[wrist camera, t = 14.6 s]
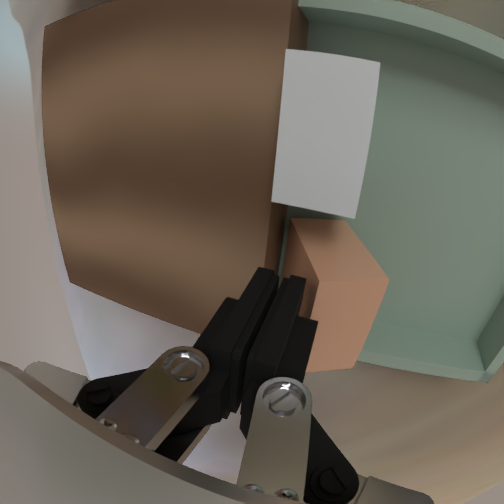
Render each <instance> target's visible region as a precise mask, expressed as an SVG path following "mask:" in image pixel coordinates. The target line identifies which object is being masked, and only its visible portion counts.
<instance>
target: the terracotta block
mask: <svg viewBox="0 0 504 504" xmlns="http://www.w3.org/2000/svg"><path fill="white" fill-rule="evenodd" d="M291 275H295V276H299V277H303V278H307V280H306V285H305V289H304V294H303V298H302V302H301V307H300V311H299V315H298V316H300V317H304V318H308V319H312V320H316V321H318V326H317V330H316V334H315V338H314V342H313V346H312V350H311V353H310V357H309V361H308V365H307V368H306V372H305V373H308V372H319V371H329V370H339V369H347V368H353V367H354V365H355V363H356V360H357V358H358V356H359V354H360V352H361V350H362V347H363V345H364V343H365V341H366V338H367V336H368V334H369V331H370V329H371V326H372V324H373V322H374V319H375V317H376V314H377V312H378V309H379V307H380V304H381V302H382V299H383V296H384V294H385V291H386V288H387V286H388V283H389V278H388V277H387V276H386V274H385V273H384V271H383V270H382V269H381V267H380V266H379V265H378V263H377V262H376V260H375V259H374V258H373V256H372V255H371V254H370V252H369V251H368V250H367V248H366V247H365V246H364V244H363V243H362V242H361V241H360V239H359V238H358V237H357V235H356V234H355V233H354V231H353V230H352V229H351V228H350V226H349V225H348V224H347V223H346V221H345V220H330V219H309V218H290V222H289V229H288V236H287V243H286V250H285V257H284V263H283V270H282V277H281V282H282V280H283V278H284V277H286V278H290V276H291ZM280 285H281V283H280Z"/></svg>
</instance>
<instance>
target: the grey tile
mask: <svg viewBox="0 0 504 504" xmlns="http://www.w3.org/2000/svg"><path fill="white" fill-rule="evenodd" d="M379 71H380V62H375V61H370V60H365V59H360V58H355V57H349V56H343V55H336V54H329V53H322V52H313V51H304V50H294V49H286V52H285V64H284V75H283V86H282V97H281V108H280V119H279V129H278V139H277V150H276V160H275V170H274V180H273V189H272V199H271V202H276V203H281V204H286V205H291V206H296V207H301V208H306V209H311V210H316V211H320V212H325V213H330V214H334V215H339V216H343V217H348V218H352V219H355V216H356V211H357V206H358V202H359V197H360V192H361V187H362V182H363V177H364V172H365V167H366V161H367V156H368V150H369V144H370V138H371V132H372V125H373V119H374V112H375V104H376V97H377V89H378V80H379Z"/></svg>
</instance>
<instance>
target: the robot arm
mask: <svg viewBox="0 0 504 504" xmlns="http://www.w3.org/2000/svg"><path fill="white" fill-rule="evenodd" d="M279 278H280V276H278V275H275V271H274V270H271V269H267V268H263V267H258V268H257V270H256V272H255V273H254V275H253V277H252V278H251V280H250V282H249V283H248V285H247V287H246V288H245V290H244V291H243V293H242V295H241V296H240V298H239V300H237V299H234V298H230V297H227V298H225V300H224V301H223V302H222V304H221V305H220V307H219V308H218V310H217V311H216V313H215V314H214V316H213V317H212V319H211V320H210V322H209V323H208V325H207V326H206V328H205V329H204V331H203V332H202V334H201V335H200V337H199V338H198V340H197V341H196V343H195V344H194V346H193V347H186V346H181V347H175V348H172V349H169V350H167V351H166V352H165V353H163V354H162V355H161V356H160V357H159V358H158V359H157V360H156V361H155V362H154V363H153V364H152V365H151V366H150V367H149V368H147V369H143V370H138V371H134V372H129V373H124V374H119V375H114V376H109V377H104V378H99V379H95V380H92V381H90V380H88V379H87V377H86V376H83V375H79V374H76V373H73V372H70V371H67V370H64V369H62V368H59V367H56V366H53V365H50V364H48V363H45V362H34V363H32V364H30V365H28V366H27V367H26V369H25V370H24V371H22V370H21V369H19V368H17V367H15V366H13V365H11V364H8V363H5V362H2V361H0V504H434V501H433V500H432V499H431V497H430V496H428V495H426V494H424V493H422V492H418V491H415V490H411V489H408V488H404V487H401V486H398V485H395V484H392V483H389V482H386V481H383V480H380V479H377V478H374V477H372V476H369V477H368V478H367V477H364V476H361V475H359V474H357V473H356V471H355V469H354V468H353V467H352V465H351V464H350V463H349V462H348V460H347V459H346V458H345V457H344V455H343V454H342V453H341V451H340V450H339V449H338V448H337V446H336V445H335V444H334V442H333V441H332V440H331V439H330V437H329V436H328V435H327V433H326V432H325V431H324V429H323V428H322V427H321V425H320V424H319V423H318V421H317V420H316V419H315V417H314V416H313V415H312V413H311V412H312V397H311V394H310V392H309V390H308V388H307V387H305V386H304V385H303V384H302V383H303V379H304V376H305V372H306V368H307V365H308V361H309V357H310V353H311V350H312V346H313V342H314V338H315V334H316V330H317V326H318V321H316V320H312V319H308V318H304V317H300V316H298V315H299V311H300V307H301V302H302V298H303V294H304V289H305V285H306V280H307V278H303V277H299V276H295V275H291V276H290V278H286V277H284V278H283V280H282V282H281V285H280V287H279V289H278V285H279ZM241 402H242V404H241ZM240 404H241V412H240V415H241V422H240V430H241V431H242V433H243V435H244V437H245V438H246V440H247V441H246V445H245V450H244V454H243V458H242V463H241V467H240V471H239V476H238V480H237V484H236V485H235V484H232V483H229V482H226V481H223V480H220V479H217V478H215V477H212V476H209V475H207V474H204V473H201V472H199V471H196V470H194V469H191V468H189V467H187V466H184V465H182V463H183V462H184V461H185V460H186V458H187V457H188V456H189V454H190V453H191V452H192V451H193V449H194V448H195V447H196V445H197V444H198V443H199V442H200V440H201V439H202V438H203V436H204V435H205V434H206V432H207V431H208V430H209V428H210V426H211V424H214V423H217V422H220V421H221V419H222V418H224V419H227V418H228V416H229V414H230V412H234V413H236V412H237V410H238V408H239V406H240Z"/></svg>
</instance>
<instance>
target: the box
mask: <svg viewBox="0 0 504 504" xmlns="http://www.w3.org/2000/svg"><path fill="white" fill-rule="evenodd" d="M298 6H299V8H300V9H301V11H302V12H303V13H304V15H305V16H306V18H307V19H308V21H309V28H308V39H307V49H306V51H313V52H322V53H329V54H336V55H343V56H349V57H355V58H360V59H365V60H370V61H375V62H380V71H379V80H378V89H377V97H376V104H375V112H374V119H373V125H372V132H371V138H370V144H369V150H368V156H367V161H366V167H365V172H364V177H363V182H362V187H361V192H360V197H359V202H358V206H357V211H356V216H355V219H352V218H348V217H343V216H339V215H334V214H330V213H325V212H320V211H316V210H311V209H306V208H301V207H296V206H291V205H288V210H287V217H286V225H285V232H284V239H283V246H282V252H281V259H280V266H279V272H278V276H280V278H279V285H278V289H279V287H280V283H281V277H282V270H283V263H284V257H285V250H286V243H287V236H288V229H289V222H290V218H309V219H330V220H345V221H346V223H347V224H348V225H349V226H350V228H351V229H352V230H353V231H354V233H355V234H356V235H357V237H358V238H359V239H360V241H361V242H362V243H363V244H364V246H365V247H366V248H367V250H368V251H369V252H370V254H371V255H372V256H373V258H374V259H375V260H376V262H377V263H378V265H379V266H380V267H381V269H382V270H383V271H384V273H385V274H386V276H387V277H388V278H389V283H388V286H387V288H386V291H385V294H384V296H383V299H382V302H381V304H380V307H379V309H378V312H377V314H376V317H375V319H374V322H373V324H372V326H371V329H370V331H369V334H368V336H367V338H366V341H365V343H364V345H363V347H362V350H361V352H360V354H359V356H358V358H357V360H356V361H361V362H365V363H370V364H375V365H380V366H385V367H390V368H395V369H400V370H406V371H411V372H417V373H423V374H429V375H435V376H441V377H448V378H455V379H462V380H469V381H477V382H485V383H488V382H489V380H490V379H491V378H492V377H493V375H494V374H495V373H496V372H497V370H498V369H499V368H500V366H501V365H502V364H503V362H504V39H502V38H500V37H497V36H495V35H493V34H491V33H489V32H487V31H484V30H482V29H480V28H477V27H475V26H473V25H470V24H468V23H465V22H463V21H460V20H457V19H455V18H452V17H449V16H446V15H443V14H440V13H437V12H434V11H431V10H428V9H425V8H421V7H418V6H414V5H410V4H407V3H403V2H399V1H394V0H299V3H298Z"/></svg>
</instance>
